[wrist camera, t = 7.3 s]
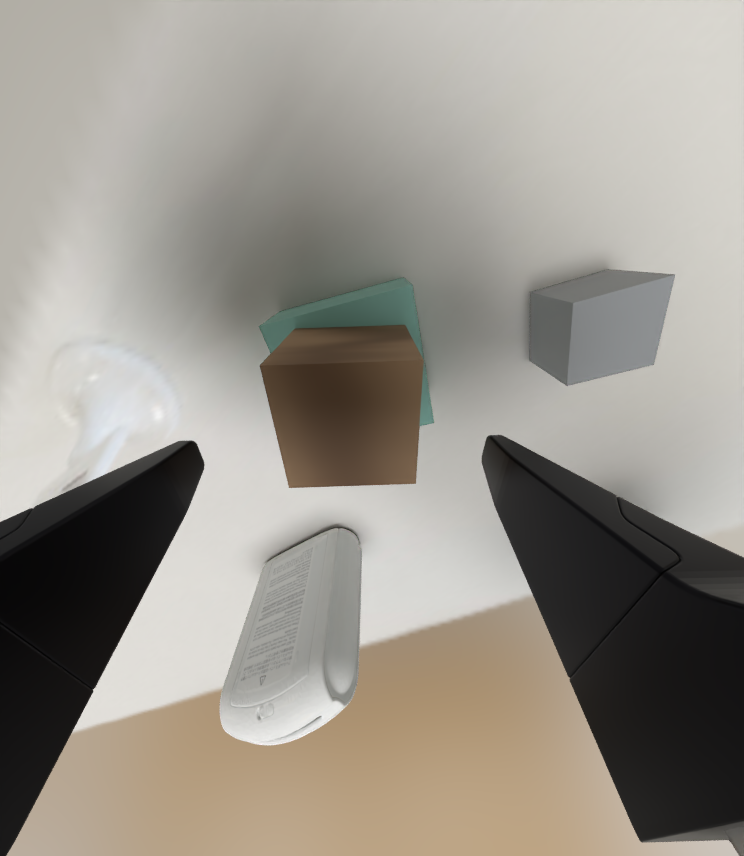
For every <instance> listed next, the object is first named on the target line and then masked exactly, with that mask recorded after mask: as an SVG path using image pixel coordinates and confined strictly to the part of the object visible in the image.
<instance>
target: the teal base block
mask: <svg viewBox="0 0 744 856" xmlns="http://www.w3.org/2000/svg"><path fill="white" fill-rule="evenodd" d="M383 325H406V327H407V329H408V331H409V333H410V335H411V337H412V339H413V341H414V343H415V344H416V346H417V348H418V350H419V352H420V354H421V356H422V358H423V360H424V356H423V349H422V343H421V336H420V330H419V324H418V317H417V311H416V305H415V298H414V292H413V285H412V284H411V283H410V282H408V281H407V280H406V279H405V278H400V279H396V280H392V281H389V282H385V283H381V284H378V285H374V286H371V287H367V288H363V289H360V290H356V291H352V292H349V293H345V294H341V295H338V296H334V297H331V298H327V299H323V300H320V301H316V302H312V303H309V304H305V305H302V306H298V307H294V308H291V309H287V310H283V311H280V312H279V313H277V314H276V315H274V316H273V317H272V318H270V319H269V320H267V321H266V322H264V323H263V324H262V325H260V326H259V328H260V330H261V332H262V334H263V337H264V339H265V341H266V344H267V346H268V348H269V350H270V353H272V352H273V351H274V350H275V349H276V348H277V347H278V346H279V345H280V344H281V343H282V341H283V340H284V339H285V338H286V337H287V336H288V335H289V334H290V333H291V332H292V331H293V330H294V329H295V328H323V327H353V326H383ZM431 423H434V420H433V413H432V407H431V400H430V394H429V388H428V381H427V375H426V368H425V362H424V364H423V379H422V394H421V410H420V425H419V426H422V425H427V424H431Z"/></svg>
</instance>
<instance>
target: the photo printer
mask: <svg viewBox="0 0 744 856" xmlns="http://www.w3.org/2000/svg"><path fill="white" fill-rule="evenodd" d="M361 567H362V552H361V547H359V540H358V538H357V536H356V535H355V534H354V533H352V532H351V531H349V530H346V529H343V528H339V529H338V528H334V529H331V530H328V531H325V532H323V533H321V534H319V535H317V536H315V537H313V538H311V539H309V540H307V541H305V542H303V543H301V544H299V545H297V546H295V547H293V548H291V549H289V550H287V551H286V552H284V553H282V554H280V555H278V556H276V557H274V558H273V559H271V560H270V561H268V562H267V563H266V564H265V566H264V567H263V570H262V572H261V575H260V578H259V581H258V584H257V587H256V590H255V593H254V596H253V599H252V602H251V605H250V608H249V611H248V614H247V617H246V620H245V623H244V626H243V629H242V632H241V635H240V638H239V641H238V644H237V647H236V650H235V653H234V656H233V659H232V662H231V665H230V668H229V671H228V674H227V677H226V680H225V683H224V686H223V689H222V693H221V698H220V719H221V723H222V726H223V728H224V730H225V731H226V732H227V733H228V734H229V735H231V736H233V737H234V738H236V739H239V740H242V741H247V742H250V743H254V744H258V745H277V744H283V743H287V742H290V741H293V740H296V739H298V738H300V737H302V736H305V735H307V734H308V733H310V732H312V731H314V730H316V729H318V728H319V727H321V726H322V725H324V724H326V723H327V722H328V721H330V720H331V719H332V718H334V717H335V716H336V715H337V714H339V713H340V712H341V711H342V710H343V709H344V708H345V707H346V706H347V705H348V704H349V702H350V701H351V700H352V698H353V695H354V693H355V690H356V686H357V681H358V669H359V667H358V666H359V639H360V605H361Z"/></svg>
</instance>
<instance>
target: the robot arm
mask: <svg viewBox="0 0 744 856" xmlns="http://www.w3.org/2000/svg"><path fill="white" fill-rule="evenodd" d="M482 465H483V468H484V472H485V475H486V479H487V482H488V485H489V489H490V492H491V495H492V499H493V502H494V505H495V508H496V510H497V513H498V515H499V517H500V520H501V522H502V524H503V526H504V529H505V531H506V533H507V536H508V538H509V540H510V543H511V545H512V547H513V550H514V552H515V554H516V557H517V559H518V561H519V564H520V566H521V568H522V571H523V573H524V575H525V577H526V580H527V582H528V584H529V587H530V589H531V591H532V594H533V596H534V598H535V601H536V603H537V605H538V608H539V610H540V612H541V615H542V617H543V619H544V621H545V624H546V626H547V628H548V631H549V633H550V635H551V637H552V640H553V642H554V645H555V647H556V649H557V651H558V654H559V656H560V659H561V661H562V663H563V666H564V668H565V670H566V672H567V675H568V677H570V682H571V685H572V687H573V689H574V692H575V694H576V696H577V698H578V701H579V703H580V705H581V708H582V710H583V712H584V715H585V717H586V719H587V722H588V724H589V726H590V729H591V731H592V733H593V736H594V738H595V740H596V743H597V745H598V747H599V749H600V752H601V754H602V756H603V759H604V761H605V763H606V766H607V768H608V770H609V772H610V775H611V777H612V780H613V782H614V784H615V787H616V789H617V791H618V794H619V796H620V798H621V800H622V803H623V805H624V807H625V810H626V812H627V814H628V817H629V819H630V821H631V823H632V826H633V828H634V830H635V832H636V834H637V836H638V838H639V840H640V841H641V842H672V841H705V840H707V841H708V840H729V841H730V842H731V843H732V844H733V846H734V848H735V850H736V851H737V853H738V854H739V856H744V557H742V556H739V555H737V554H735V553H733V552H731V551H729V550H727V549H724V548H722V547H720V546H718V545H716V544H714V543H712V542H710V541H707V540H705V539H703V538H701V537H699V536H697V535H695V534H692V533H690V532H688V531H686V530H684V529H682V528H680V527H678V526H676V525H674V524H672V523H669V522H667V521H665V520H663V519H661V518H659V517H657V516H655V515H653V514H651V513H649V512H647V511H645V510H643V509H641V508H639V507H638V506H636V505H634V504H632V503H630V502H628V501H626V500H624V499H622V498H620V497H616V495H615V494H613V493H611V492H609V491H607V490H605V489H603V488H601V487H599V486H597V485H596V484H594V483H592V482H590V481H588V480H586V479H584V478H582V477H580V476H578V475H577V474H575V473H573V472H571V471H569V470H567V469H565V468H563V467H561V466H559V465H558V464H556V463H554V462H552V461H550V460H548V459H546V458H544V457H542V456H540V455H539V454H537V453H535V452H533V451H531V450H529V449H527V448H525V447H523V446H521V445H520V444H518V443H516V442H514V441H512V440H510V439H508V438H506V437H504V436H502V435H490V436H488V437H487V439H486V442H485V446H484V450H483V455H482ZM203 470H204V461H203V458H202V456H201V453H200V451H199V448H198V446H197V444H196V443H195V442H194V441H178V442H176V443H174V444H171V445H169V446H167V447H165V448H163V449H160V450H158V451H156V452H154V453H152V454H149V455H147V456H145V457H143V458H141V459H138V460H136V461H134V462H132V463H129V464H127V465H125V466H123V467H121V468H118V469H116V470H114V471H112V472H110V473H107V474H105V475H103V476H101V477H99V478H96V479H94V480H92V481H90V482H88V483H85V484H83V485H81V486H79V487H77V488H74V489H72V490H70V491H68V492H66V493H63V494H61V495H59V496H57V497H55V498H52V499H50V500H48V501H46V502H44V503H41V504H39V505H37V506H35V507H34V509H33V508H31V509H28V510H26V511H24V512H21V513H19V514H17V515H15V516H13V517H10V518H8V519H6V520H4V521H1V522H0V856H6V855H7V853H8V852H9V850H10V849H11V847H12V845H13V843H14V842H15V840H16V838H17V836H18V834H19V832H20V830H21V829H22V827H23V825H24V823H25V821H26V819H27V817H28V815H29V813H30V811H31V810H32V808H33V806H34V804H35V802H36V800H37V798H38V796H39V794H40V792H41V790H42V789H43V787H44V785H45V783H46V781H47V779H48V777H49V775H50V773H51V771H52V769H53V768H54V766H55V764H56V762H57V760H58V758H59V756H60V754H61V752H62V750H63V748H64V746H65V745H66V743H67V741H68V739H69V737H70V735H71V733H72V731H73V729H74V727H75V725H76V724H77V722H78V720H79V718H80V716H81V714H82V712H83V710H84V708H85V706H86V704H87V703H88V701H89V699H90V697H91V695H92V693H93V690H92V689H94V688H95V687H96V685H97V683H98V681H99V679H100V677H101V675H102V673H103V672H104V670H105V668H106V666H107V664H108V662H109V660H110V658H111V656H112V654H113V652H114V651H115V649H116V647H117V645H118V643H119V641H120V639H121V637H122V635H123V633H124V631H125V630H126V628H127V626H128V624H129V622H130V620H131V618H132V616H133V614H134V612H135V610H136V609H137V607H138V605H139V603H140V601H141V599H142V597H143V595H144V593H145V591H146V590H147V588H148V586H149V584H150V582H151V580H152V578H153V576H154V574H155V572H156V570H157V569H158V567H159V565H160V563H161V561H162V559H163V557H164V555H165V553H166V551H167V549H168V548H169V546H170V544H171V542H172V540H173V538H174V536H175V534H176V532H177V530H178V528H179V527H180V525H181V523H182V521H183V519H184V517H185V515H186V513H187V510H188V508H189V506H190V503H191V501H192V498H193V496H194V493H195V491H196V488H197V486H198V483H199V480H200V478H201V475H202V473H203Z"/></svg>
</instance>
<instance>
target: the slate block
mask: <svg viewBox="0 0 744 856" xmlns="http://www.w3.org/2000/svg"><path fill="white" fill-rule="evenodd" d="M674 277H675V275H674V274H661V273H648V272H635V271H622V270H609V269H608V270H604V271H601V272H597V273H594V274H591V275H587V276H584V277H580V278H577V279H573V280H570V281H566V282H563V283H559V284H556V285H553V286H549V287H546V288H542V289H539V290H535V291H532V292H530V357H529V361H531V362H532V363H534V364H535V365H537V366H538V367H540V368H541V369H543V370H544V371H546V372H547V373H549V374H550V375H552V376H553V377H554V378H556V379H557V380H559V381H560V382H562V383H563V384H565V385H566V386H568V385H573V384H577V383H581V382H585V381H589V380H593V379H597V378H601V377H605V376H609V375H613V374H617V373H621V372H626V371H630V370H634V369H638V368H642V367H646V366H650V365H654V362H655V357H656V353H657V349H658V345H659V341H660V336H661V332H662V328H663V324H664V319H665V315H666V311H667V307H668V303H669V298H670V294H671V290H672V286H673V281H674Z"/></svg>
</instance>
